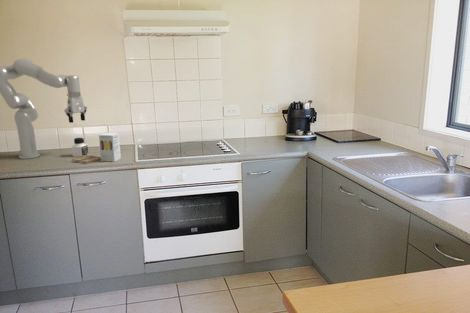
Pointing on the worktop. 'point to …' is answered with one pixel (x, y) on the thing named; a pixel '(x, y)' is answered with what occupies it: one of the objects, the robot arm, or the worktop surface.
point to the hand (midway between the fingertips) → (77, 121)
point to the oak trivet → (86, 159)
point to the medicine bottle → (79, 148)
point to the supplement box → (109, 147)
